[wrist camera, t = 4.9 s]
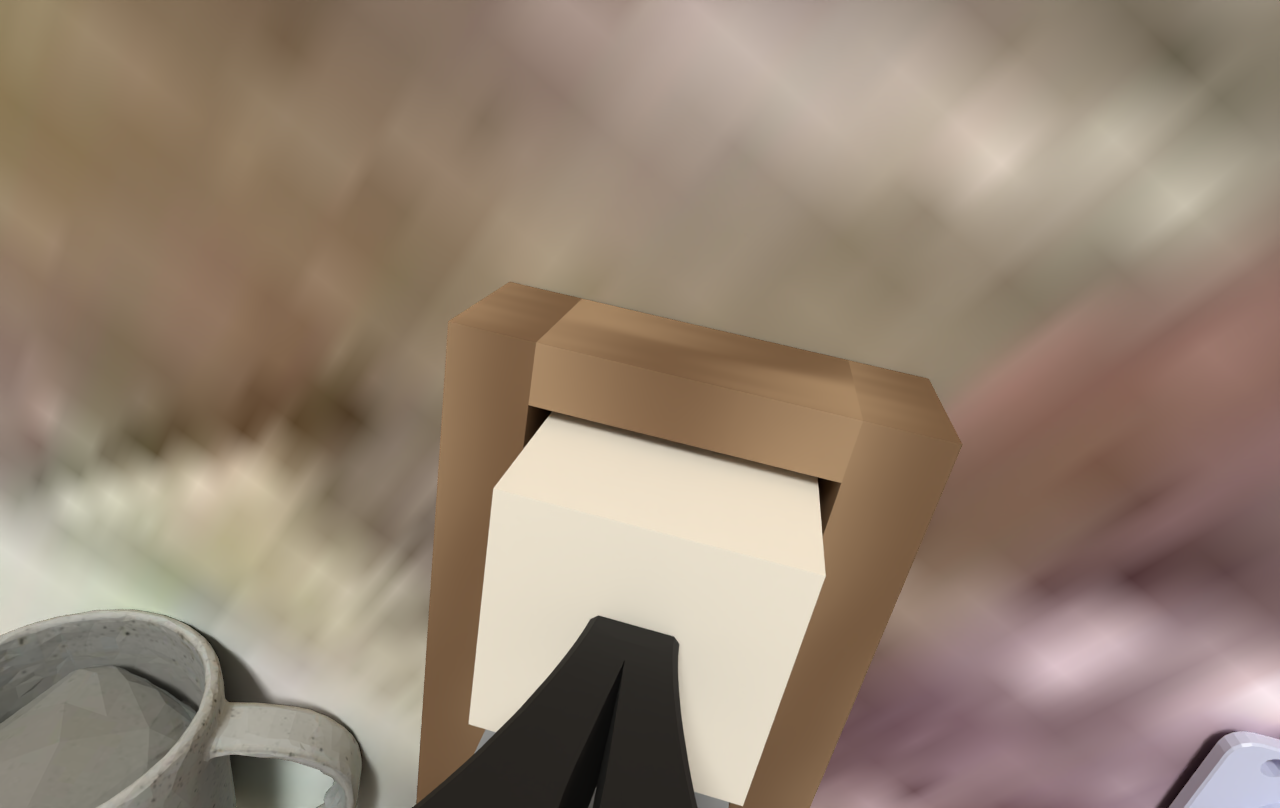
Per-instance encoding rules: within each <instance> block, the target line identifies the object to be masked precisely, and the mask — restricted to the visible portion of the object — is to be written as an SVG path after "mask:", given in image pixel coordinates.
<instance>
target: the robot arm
mask: <svg viewBox="0 0 1280 808" xmlns="http://www.w3.org/2000/svg"><path fill="white" fill-rule="evenodd" d="M678 653H679V643H678V641H677V640H676V638H675V637H674V636H671V635H667V634H663V633H660V632H656V631H653V630H649V629H646V628H642V627H638V626H635V625H631V624H628V623H624V622H621V621H617V620H613V619H610V618H606V617H603V616H599V615H598V616H596V617H594V618H591V619H590V620H589V622H588V624H587V625H586V627H585V629H584V630H583V632H582V633H581V635H580V636H579V637H578V639H577V640H576V642H575V643H574V645H573V646H572V647H571V649H570V650H569V651H568V653H567V654H566V655H565V656H564V658H563V659H562V660H561V661H560V663H559V664H558V665H557V666H556V668H555V669H554V670H553V671H552V673H551V674H550V675H549V676H548V677H547V678H546V679H545V681H544V682H543V683H542V684H541V685H540V686H539V687H538V688H537V690H536V691H535V692H534V693H533V694H532V695H531V696H530V697H529V699H528V700H527V701H526V702H525V703H524V704H523V705H522V706H521V708H520V709H519V710H518V711H517V712H516V713H515V714H514V715H513V716H512V717H511V718H510V719H509V720H508V721H507V722H506V723H505V724H504V725H503V726H502V727H501V728H500V729H499V730H498V731H497V732H496V733H495V734H494V735H493V736H492V737H491V738H490V739H489V740H488V741H487V742H486V743H485V744H484V745H483V746H482V747H481V748H480V749H479V750H478V751H477V752H476V753H475V754H473V755H472V756H471V757H470V758H469V759H468V760H467V761H466V762H465V763H464V764H463V765H461V766H460V767H459V768H458V769H457V770H456V771H455V772H454V773H453V774H451V775H450V776H449V777H448V778H447V779H446V780H445V781H443V782H442V783H441V784H440V785H439V786H438V787H436V788H435V789H434V790H433V791H432V792H430V793H429V794H428V795H427V796H426V797H425V798H423V799H422V800H421V801H420V802H419V803H417V804H416V805H415V806H414V807H412V808H588V807H589V804H590V802H591V799H592V796H593V794H594V791H595V788H596V792H595V797H594V803H593V808H698V807H697V803H696V798H695V794H694V789H693V784H692V779H691V773H690V768H689V762H688V756H687V750H686V744H685V737H684V731H683V724H682V716H681V706H680V695H679V681H678ZM1268 760H1269V761H1268ZM1169 808H1280V740H1279V739H1275V738H1272V737H1268V736H1264V735H1261V734H1257V733H1253V732H1245V731H1239V732H1232V733H1230V734H1227V735H1225V736H1223V737H1222V738H1221V739H1220V740H1219V741H1218V742H1217V743H1216V745H1215V746H1214V747H1213V749H1212V750H1211V751H1210V753H1209V754H1208V755H1207V757H1206V758H1205V759H1204V761H1203V762H1202V763H1201V765H1200V766H1199V767H1198V769H1197V770H1196V771H1195V773H1194V774H1193V775H1192V777H1191V778H1190V780H1189V781H1188V782H1187V784H1186V785H1185V786H1184V788H1183V789H1182V790H1181V792H1180V793H1179V794H1178V796H1177V797H1176V798H1175V800H1174V801H1173V802H1172V804H1171V805H1170V806H1169Z"/></svg>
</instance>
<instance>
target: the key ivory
mask: <svg viewBox="0 0 1280 808" xmlns="http://www.w3.org/2000/svg"><path fill="white" fill-rule="evenodd" d="M825 577H826V573H825V561H824V549H823V537H822V524H821V512H820V500H819V488H818V477H815V476H811V475H807V474H803V473H799V472H795V471H791V470H787V469H783V468H779V467H775V466H771V465H767V464H763V463H759V462H755V461H751V460H747V459H743V458H739V457H735V456H731V455H727V454H723V453H719V452H715V451H711V450H707V449H702V448H698V447H694V446H690V445H686V444H682V443H678V442H674V441H670V440H666V439H662V438H658V437H654V436H650V435H646V434H642V433H638V432H634V431H630V430H626V429H622V428H618V427H614V426H610V425H606V424H602V423H598V422H594V421H590V420H586V419H582V418H578V417H574V416H570V415H566V414H562V413H558V412H554V411H552V412H551V414H550V415H549V416H548V417H547V419H546V420H545V421H544V423H543V424H542V425H541V427H540V428H539V429H538V431H537V432H536V433H535V435H534V436H533V437H532V438H531V440H530V441H529V442H528V444H527V445H526V446H525V448H524V449H523V450H522V452H521V453H520V454H519V455H518V457H517V458H516V459H515V461H514V462H513V463H512V465H511V466H510V467H509V469H508V470H507V471H506V473H505V474H504V475H503V476H502V478H501V479H500V480H499V482H498V483H497V484H496V486H495V487H494V488H493V496H492V506H491V515H490V525H489V534H488V544H487V553H486V563H485V572H484V582H483V591H482V601H481V610H480V619H479V629H478V638H477V648H476V657H475V667H474V676H473V686H472V695H471V705H470V714H469V724H470V725H473V726H476V727H480V728H483V729H487V730H490V731H493V732H497V731H498V730H499V729H500V728H501V727H502V726H503V725H504V724H505V723H506V722H507V721H508V720H509V719H510V718H511V717H512V716H513V715H514V714H515V713H516V712H517V711H518V710H519V709H520V708H521V706H522V705H523V704H524V703H525V702H526V701H527V700H528V699H529V697H530V696H531V695H532V694H533V693H534V692H535V691H536V690H537V688H538V687H539V686H540V685H541V684H542V683H543V682H544V681H545V679H546V678H547V677H548V676H549V675H550V674H551V673H552V671H553V670H554V669H555V668H556V666H557V665H558V664H559V663H560V661H561V660H562V659H563V658H564V656H565V655H566V654H567V653H568V651H569V650H570V649H571V647H572V646H573V645H574V643H575V642H576V640H577V639H578V637H579V636H580V635H581V633H582V632H583V630H584V629H585V627H586V625H587V624H588V622H589V620H590V619H591V618H594V617H596V616H598V615H599V616H603V617H606V618H610V619H613V620H617V621H621V622H624V623H628V624H631V625H635V626H638V627H642V628H646V629H649V630H653V631H656V632H660V633H663V634H667V635H671V636H674V637H675V638H676V640H677V641H678V643H679V653H678V681H679V695H680V706H681V716H682V724H683V731H684V737H685V744H686V750H687V756H688V762H689V768H690V773H691V779H692V784H693V789H694V792H697V793H700V794H703V795H707V796H710V797H713V798H717V799H720V800H724V801H727V802H730V803H734V804H737V805H740V806H743V804H744V802H745V799H746V796H747V793H748V790H749V788H750V785H751V782H752V779H753V777H754V774H755V771H756V768H757V765H758V763H759V760H760V757H761V754H762V752H763V749H764V746H765V743H766V740H767V738H768V735H769V732H770V729H771V727H772V724H773V721H774V718H775V715H776V713H777V710H778V707H779V704H780V702H781V699H782V696H783V693H784V690H785V688H786V685H787V682H788V679H789V677H790V674H791V671H792V668H793V665H794V663H795V660H796V657H797V654H798V652H799V649H800V646H801V643H802V640H803V638H804V635H805V632H806V629H807V627H808V624H809V621H810V618H811V615H812V613H813V610H814V607H815V604H816V602H817V599H818V596H819V593H820V590H821V588H822V585H823V582H824V579H825Z"/></svg>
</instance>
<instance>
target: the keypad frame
mask: <svg viewBox="0 0 1280 808" xmlns="http://www.w3.org/2000/svg"><path fill="white" fill-rule="evenodd" d="M552 411H554V412H558V413H562V414H566V415H570V416H574V417H578V418H582V419H586V420H590V421H594V422H598V423H602V424H606V425H610V426H614V427H618V428H622V429H626V430H630V431H634V432H638V433H642V434H646V435H650V436H654V437H658V438H662V439H666V440H670V441H674V442H678V443H682V444H686V445H690V446H694V447H698V448H702V449H707V450H711V451H715V452H719V453H723V454H727V455H731V456H735V457H739V458H743V459H747V460H751V461H755V462H759V463H763V464H767V465H771V466H775V467H779V468H783V469H787V470H791V471H795V472H799V473H803V474H807V475H811V476H815V477H818V488H819V500H820V512H821V524H822V537H823V549H824V561H825V573H826V577H825V579H824V582H823V585H822V588H821V590H820V593H819V596H818V599H817V602H816V604H815V607H814V610H813V613H812V615H811V618H810V621H809V624H808V627H807V629H806V632H805V635H804V638H803V640H802V643H801V646H800V649H799V652H798V654H797V657H796V660H795V663H794V665H793V668H792V671H791V674H790V677H789V679H788V682H787V685H786V688H785V690H784V693H783V696H782V699H781V702H780V704H779V707H778V710H777V713H776V715H775V718H774V721H773V724H772V727H771V729H770V732H769V735H768V738H767V740H766V743H765V746H764V749H763V752H762V754H761V757H760V760H759V763H758V765H757V768H756V771H755V774H754V777H753V779H752V782H751V785H750V788H749V790H748V793H747V796H746V799H745V802H744V804H743V806H740V805H737V804H734V803H730V802H729V808H810V806H811V803H812V801H813V799H814V796H815V794H816V792H817V789H818V787H819V784H820V782H821V780H822V777H823V775H824V773H825V770H826V768H827V765H828V763H829V761H830V758H831V756H832V754H833V751H834V749H835V746H836V744H837V742H838V739H839V737H840V734H841V732H842V730H843V727H844V725H845V723H846V720H847V718H848V715H849V713H850V711H851V708H852V706H853V704H854V701H855V699H856V696H857V694H858V692H859V689H860V687H861V685H862V682H863V680H864V677H865V675H866V673H867V670H868V668H869V666H870V663H871V661H872V658H873V656H874V654H875V651H876V649H877V647H878V644H879V642H880V639H881V637H882V635H883V632H884V630H885V628H886V625H887V623H888V620H889V618H890V616H891V613H892V611H893V609H894V606H895V604H896V601H897V599H898V597H899V594H900V592H901V590H902V587H903V585H904V582H905V580H906V578H907V575H908V573H909V570H910V568H911V566H912V563H913V561H914V559H915V556H916V554H917V551H918V549H919V547H920V544H921V542H922V540H923V537H924V535H925V532H926V530H927V528H928V525H929V523H930V521H931V518H932V516H933V513H934V511H935V509H936V506H937V504H938V502H939V499H940V497H941V494H942V492H943V490H944V487H945V485H946V483H947V480H948V478H949V475H950V473H951V471H952V468H953V466H954V464H955V461H956V459H957V456H958V454H959V452H960V449H961V447H962V443H961V441H960V439H959V437H958V435H957V433H956V431H955V429H954V427H953V425H952V423H951V421H950V419H949V418H948V416H947V414H946V412H945V410H944V408H943V406H942V404H941V402H940V400H939V398H938V396H937V394H936V392H935V390H934V388H933V386H932V384H931V382H930V381H929V379H927V378H923V377H918V376H914V375H910V374H906V373H901V372H897V371H893V370H888V369H884V368H880V367H875V366H871V365H867V364H862V363H858V362H854V361H849V360H845V359H841V358H836V357H832V356H828V355H823V354H819V353H815V352H810V351H806V350H802V349H797V348H793V347H789V346H785V345H780V344H776V343H772V342H767V341H763V340H759V339H754V338H750V337H746V336H741V335H737V334H733V333H728V332H724V331H720V330H715V329H711V328H707V327H702V326H698V325H694V324H689V323H685V322H681V321H676V320H672V319H668V318H664V317H659V316H655V315H651V314H646V313H642V312H638V311H633V310H629V309H625V308H620V307H616V306H612V305H607V304H603V303H599V302H594V301H590V300H586V299H581V298H577V297H573V296H568V295H564V294H560V293H555V292H551V291H547V290H543V289H538V288H534V287H530V286H525V285H521V284H517V283H512V282H509V283H507V284H506V285H504V286H503V287H501V288H499V289H498V290H496V291H495V292H493V293H492V294H490V295H489V296H487V297H485V298H484V299H482V300H481V301H479V302H478V303H476V304H475V305H473V306H472V307H470V308H468V309H467V310H465V311H464V312H462V313H461V314H459V315H458V316H456V317H454V318H453V319H451V320H450V321H448V333H447V348H446V363H445V378H444V393H443V408H442V423H441V438H440V454H439V469H438V484H437V499H436V514H435V529H434V544H433V559H432V574H431V590H430V605H429V620H428V635H427V650H426V665H425V680H424V695H423V711H422V726H421V741H420V756H419V771H418V786H417V801H416V804H417V803H419V802H420V801H421V800H422V799H423V798H425V797H426V796H427V795H428V794H429V793H430V792H432V791H433V790H434V789H435V788H436V787H438V786H439V785H440V784H441V783H442V782H443V781H445V780H446V779H447V778H448V777H449V776H450V775H451V774H453V773H454V772H455V771H456V770H457V769H458V768H459V767H460V766H461V765H463V764H464V763H465V762H466V761H467V760H468V759H469V758H470V757H471V756H472V755H473V754H474V753H475V751H476V749H477V746H478V744H479V742H480V740H481V738H482V736H483V734H484V732H485V730H486V729H483V728H480V727H476V726H473V725H470V724H469V714H470V705H471V695H472V686H473V676H474V667H475V657H476V648H477V638H478V629H479V619H480V610H481V601H482V591H483V582H484V572H485V563H486V553H487V544H488V534H489V525H490V515H491V506H492V496H493V488H494V487H495V486H496V484H497V483H498V482H499V480H500V479H501V478H502V476H503V475H504V474H505V473H506V471H507V470H508V469H509V467H510V466H511V465H512V463H513V462H514V461H515V459H516V458H517V457H518V455H519V454H520V453H521V452H522V450H523V449H524V448H525V446H526V445H527V444H528V442H529V441H530V440H531V438H532V437H533V436H534V435H535V433H536V432H537V431H538V429H539V428H540V427H541V425H542V424H543V423H544V421H545V420H546V419H547V417H548V416H549V415H550V414H551V412H552Z"/></svg>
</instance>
